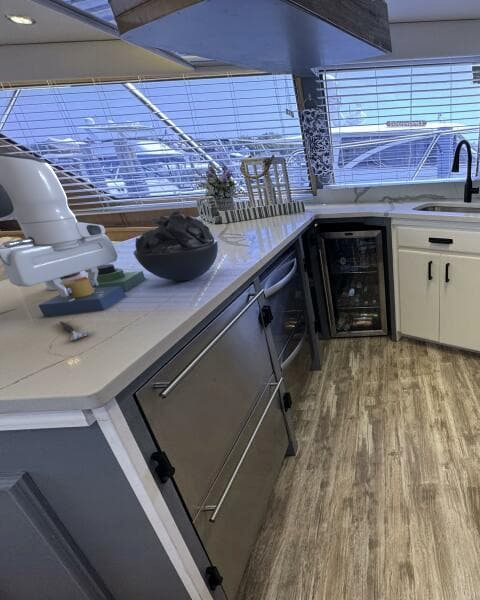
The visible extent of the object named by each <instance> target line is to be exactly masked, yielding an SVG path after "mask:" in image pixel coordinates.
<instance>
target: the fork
mask: <svg viewBox="0 0 480 600" xmlns="http://www.w3.org/2000/svg"><path fill="white" fill-rule="evenodd" d="M59 323H60V325H61V326H62V328H63V330H65V331H67V332H68V333H71V334H72V336H71V337H70V342H71V341H77V340H78V339H81V338H84V337H87V336H89V333H90V332H89V331H87V332H86V333H84V332H82V333H81V332H76V330H75V329H74V328H73V326H72V325H70V324H69V323H65V322H63V321H59Z"/></svg>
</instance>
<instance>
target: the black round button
mask: <svg viewBox="0 0 480 600" xmlns="http://www.w3.org/2000/svg"><path fill="white" fill-rule="evenodd" d="M115 268H116V267H115V264H111V263H108V264H105V265H101V266H98V267H97V269H98V275H103V274H109V273H113V272H116V270H115Z"/></svg>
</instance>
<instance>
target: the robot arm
mask: <svg viewBox="0 0 480 600" xmlns="http://www.w3.org/2000/svg"><path fill="white" fill-rule="evenodd" d="M9 220H15V221H17V223H18V225H19V227H20V229H21V231H22V233H23V235H24V237H25V238H20V239H16V240H9V241H4V242H2V244H1V245H0V261H1V262H2V264H3V268H4V271H5V274H6V276H7V278H8V280H9V283H10V284H12V285H14V286H16V287H23V288H27V287H33V286H36V285H40V284H43V283H45V282H47V284H48V285H50V286H51V287H53V288H55V289H56V290H55V291H57V292H58V295H60V296H62V297H67V296H70V295H72V294H73V292H72V289H71V287H68V288H67V287H64V286H62V285H61V284H60V283H61V282H62V281H61V279H60V277H64V276H67V275H71V274H74V273H77V272H80V273H81V272H84V273H87V278H88V279H89V281H90V283H91V285H92V287H96V286H98V282H97V280H96V279H97V275H98V269H97V267H98V266H101V265H108V264H111V263H114V262H116V261H117V260H118V253H117V250H116V248H115V246H114V244H113V242H112V240H111V239H110V237H109V236H108V235H106V228H105V226H104V225H102V224H96V223H88V222H80V221H78V220H77V219H76V215H75V214H74V213H73V211H72V210H71V209H70V207H69V204H68V198H67V195H66V192H65V189H64V188H63V186H62V184H61V182H60V180H59V179H58V176H57V174H56V173H55V171H54V170H53V168H52V167H51V165H50V164H49V163H48V161H47V162H46V161H45V160H44V159H42V158H39V157H37V156H33V155H26V154H18V153H15V154H14V153H8V152H0V222H4V221H9Z"/></svg>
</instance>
